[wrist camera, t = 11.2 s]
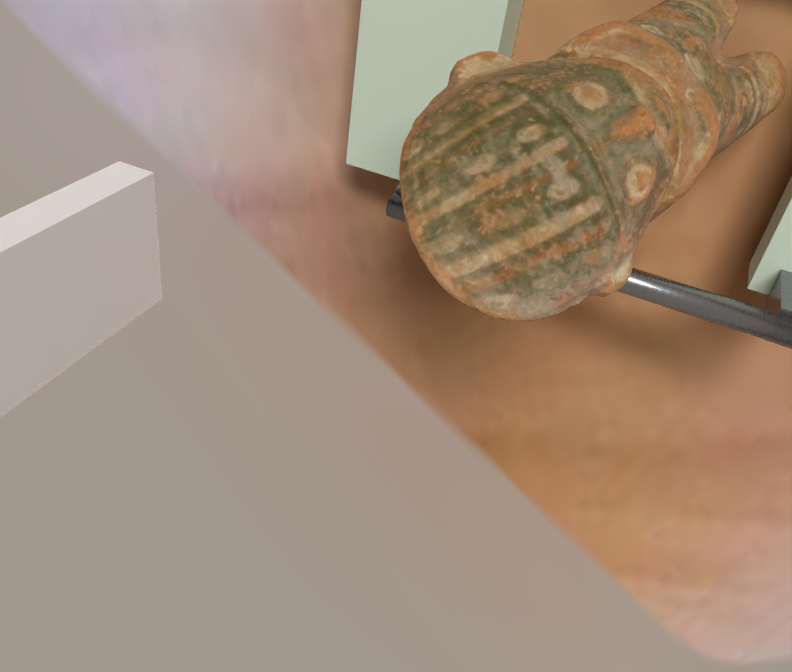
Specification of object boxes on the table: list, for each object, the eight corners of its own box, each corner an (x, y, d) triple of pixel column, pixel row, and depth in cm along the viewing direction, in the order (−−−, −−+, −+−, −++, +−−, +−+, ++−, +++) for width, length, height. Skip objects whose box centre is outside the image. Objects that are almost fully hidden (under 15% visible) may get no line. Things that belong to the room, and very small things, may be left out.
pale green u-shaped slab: (368, 147, 36) (346, 163, 34) (420, -313, 26) (392, -326, 24) (903, 309, 30) (910, 339, 28) (1244, -214, 20) (1291, -221, 18)
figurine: (801, 78, 27) (814, 241, 16) (621, 206, 32) (530, 399, 21) (657, -107, 26) (557, -79, 15) (494, 55, 31) (325, 171, 20)
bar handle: (420, 190, 33) (384, 224, 30) (425, 161, 32) (388, 192, 29) (802, 311, 29) (805, 363, 26) (819, 280, 28) (823, 331, 25)
